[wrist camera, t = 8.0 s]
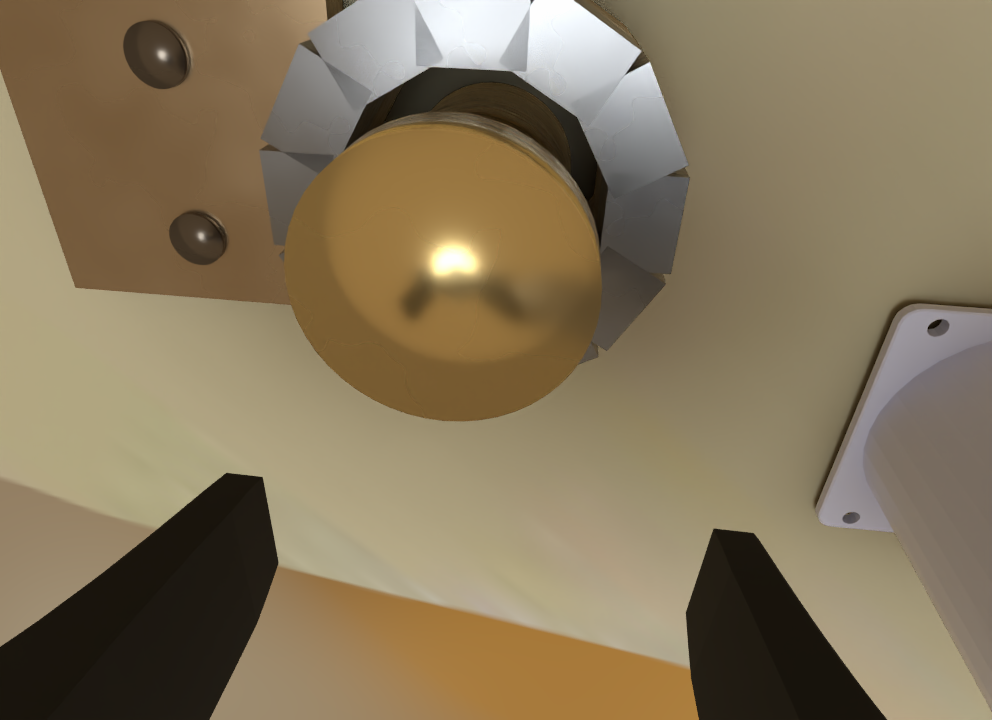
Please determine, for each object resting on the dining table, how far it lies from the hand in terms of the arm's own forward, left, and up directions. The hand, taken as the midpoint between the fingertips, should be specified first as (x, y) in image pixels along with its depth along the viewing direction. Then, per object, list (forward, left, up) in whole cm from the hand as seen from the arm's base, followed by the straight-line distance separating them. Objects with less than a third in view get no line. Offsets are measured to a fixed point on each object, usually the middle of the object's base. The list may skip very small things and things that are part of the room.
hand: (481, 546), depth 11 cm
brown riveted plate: (+5, -4, -9) cm, 11 cm away
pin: (+1, -3, -9) cm, 10 cm away
